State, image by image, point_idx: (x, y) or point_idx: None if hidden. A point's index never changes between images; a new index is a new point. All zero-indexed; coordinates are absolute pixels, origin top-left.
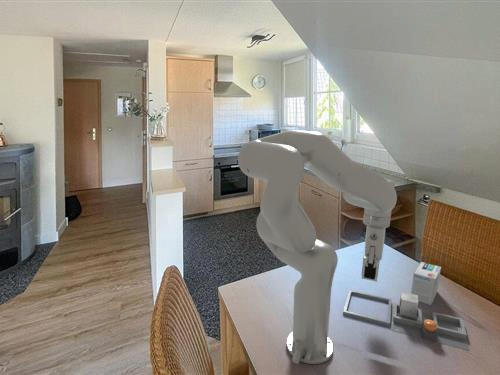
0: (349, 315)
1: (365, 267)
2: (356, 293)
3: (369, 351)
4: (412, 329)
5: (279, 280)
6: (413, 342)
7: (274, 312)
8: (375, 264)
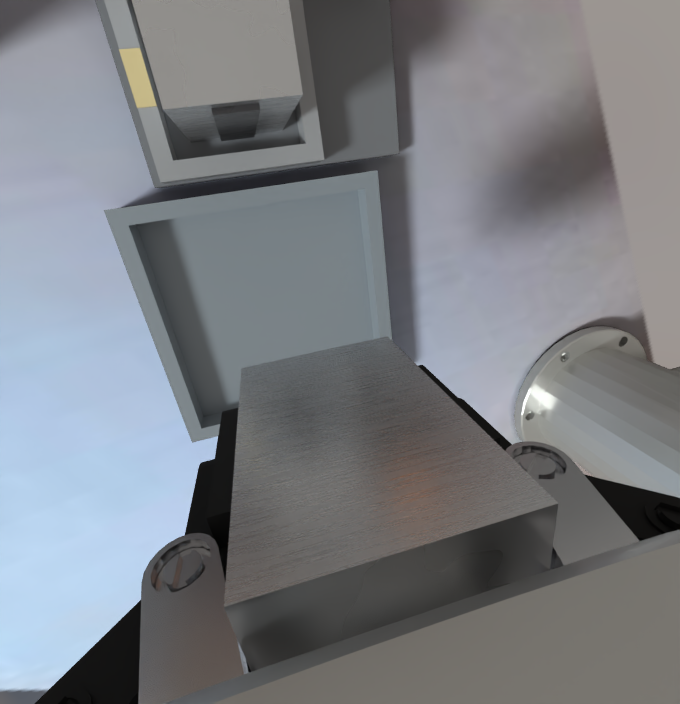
0: None
1: None
2: (193, 402)
3: (536, 222)
4: (333, 35)
5: None
6: (408, 31)
7: None
8: (593, 487)
